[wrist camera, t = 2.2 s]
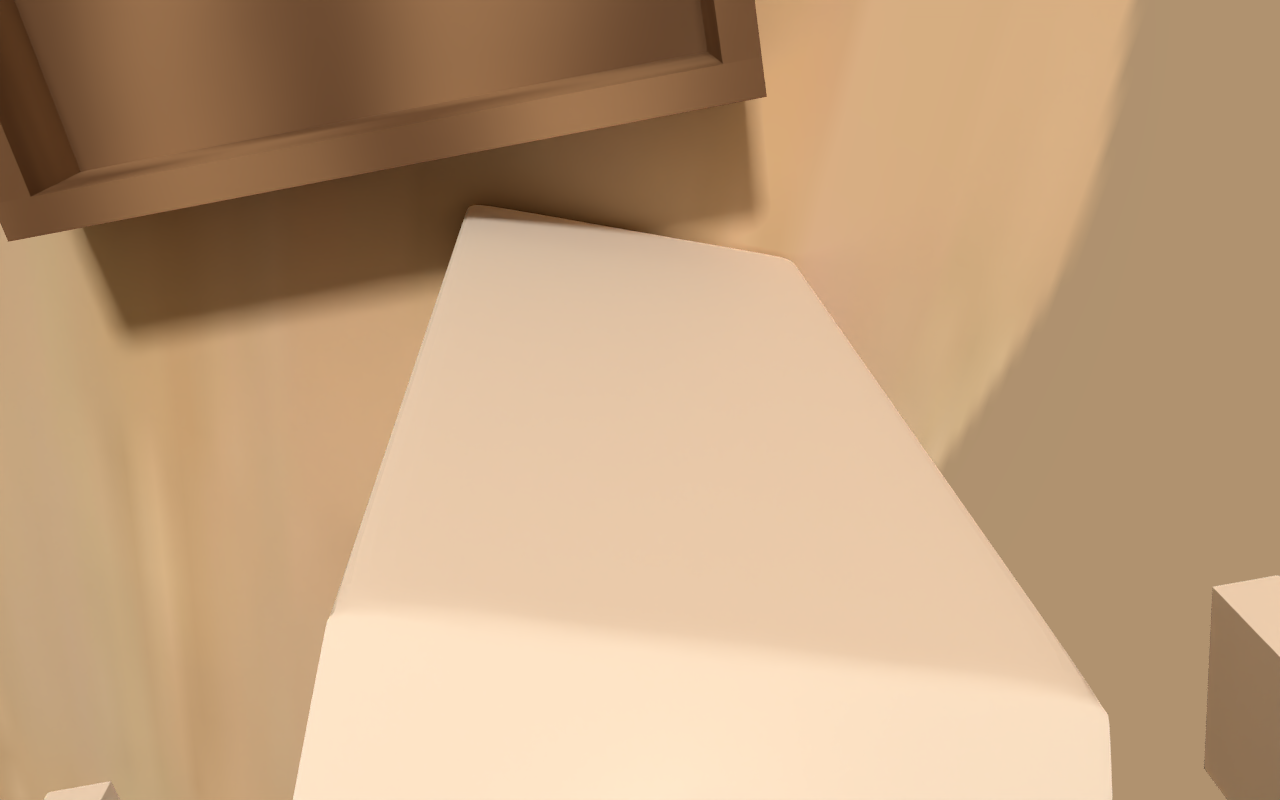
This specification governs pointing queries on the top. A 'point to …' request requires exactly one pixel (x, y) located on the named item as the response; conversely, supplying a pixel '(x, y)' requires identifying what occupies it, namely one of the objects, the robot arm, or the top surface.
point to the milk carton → (673, 558)
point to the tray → (326, 90)
